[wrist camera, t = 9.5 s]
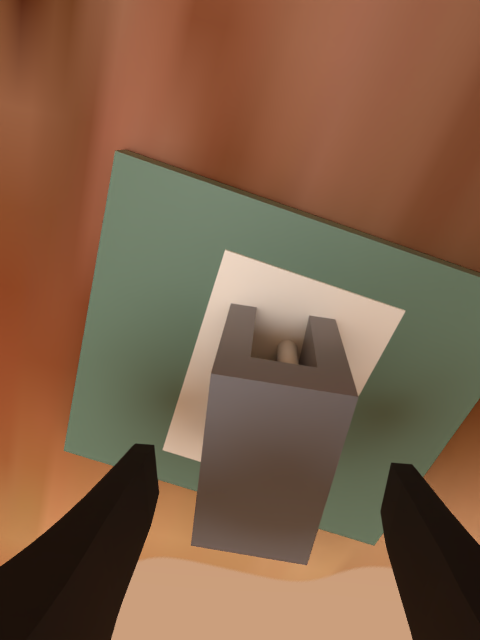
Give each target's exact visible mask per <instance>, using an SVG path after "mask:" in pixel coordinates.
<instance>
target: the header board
mask: <svg viewBox="0 0 480 640" xmlns="http://www.w3.org/2000/svg"><path fill="white" fill-rule="evenodd" d="M231 303H232V304H239V305H245V306H252V307H257V310H256V318H255V326H254V333H253V341H252V349H251V356H250V357H253V358H259V359H266V360H272V361H278V362H285V363H291V364H297V365H299V359H300V354H301V350H302V345H303V341H304V336H305V332H306V327H307V323H308V318H309V315H310V316H317V317H324V318H330V319H335V320H336V323H337V326H338V330H339V333H340V336H341V340H342V343H343V346H344V350H345V353H346V356H347V360H348V363H349V367H350V370H351V373H352V377H353V380H354V383H355V387H356V390H357V393H358V400H357V404H356V407H355V410H354V413H353V417H352V420H351V423H350V426H349V430H348V433H347V436H346V439H345V443H344V446H343V449H342V453H341V456H340V459H339V462H338V466H337V469H336V472H335V475H334V479H333V482H332V485H331V488H330V492H329V495H328V498H327V501H326V505H325V508H324V511H323V514H322V518H321V521H320V524H319V528H318V529H321V530H325V531H328V532H331V533H335V534H338V535H341V536H344V537H348V538H351V539H354V540H357V541H361V542H364V543H367V544H371V545H375V544H376V542H377V541H378V540H379V538H380V537H381V535H382V534H383V533H384V532H383V526H382V519H381V513H380V510H381V506H382V501H383V497H384V492H385V488H386V483H387V479H388V474H389V470H390V465H391V463H404V464H413V466H414V467H415V468H416V469H417V470H418V472H419V473H420V474H421V476H422V477H424V475H425V474H426V472H427V471H428V470H429V468H430V467H431V465H432V464H433V463H434V461H435V460H436V458H437V457H438V456H439V454H440V453H441V451H442V450H443V449H444V447H445V446H446V444H447V443H448V442H449V440H450V439H451V437H452V436H453V435H454V433H455V432H456V430H457V429H458V428H459V426H460V425H461V423H462V422H463V421H464V419H465V418H466V416H467V415H468V414H469V412H470V411H471V409H472V408H473V407H474V405H475V404H476V402H477V401H478V400H479V398H480V273H479V272H476V271H473V270H470V269H467V268H464V267H461V266H459V265H456V264H453V263H450V262H447V261H444V260H441V259H438V258H436V257H433V256H430V255H427V254H424V253H421V252H418V251H416V250H413V249H410V248H407V247H404V246H401V245H398V244H395V243H393V242H390V241H387V240H384V239H381V238H378V237H375V236H372V235H370V234H367V233H364V232H361V231H358V230H355V229H352V228H349V227H347V226H344V225H341V224H338V223H335V222H332V221H329V220H326V219H324V218H321V217H318V216H315V215H312V214H309V213H306V212H303V211H301V210H298V209H295V208H292V207H289V206H286V205H283V204H280V203H278V202H275V201H272V200H269V199H266V198H263V197H260V196H257V195H255V194H252V193H249V192H246V191H243V190H240V189H237V188H234V187H232V186H229V185H226V184H223V183H220V182H217V181H214V180H211V179H209V178H206V177H203V176H200V175H197V174H194V173H191V172H188V171H186V170H183V169H180V168H177V167H174V166H171V165H168V164H165V163H163V162H160V161H157V160H154V159H151V158H148V157H145V156H142V155H140V154H137V153H134V152H131V151H128V150H117V151H115V155H114V161H113V167H112V172H111V178H110V184H109V190H108V196H107V202H106V207H105V213H104V219H103V225H102V231H101V237H100V242H99V248H98V254H97V260H96V266H95V272H94V277H93V283H92V289H91V295H90V301H89V307H88V312H87V318H86V324H85V330H84V336H83V341H82V347H81V353H80V359H79V365H78V371H77V376H76V382H75V388H74V394H73V400H72V406H71V411H70V417H69V423H68V429H67V435H66V441H65V446H64V451H66V452H69V453H73V454H76V455H79V456H83V457H86V458H89V459H92V460H96V461H99V462H102V463H105V464H109V465H112V466H115V464H116V463H117V462H118V461H119V460H120V459H121V458H122V457H123V456H124V455H125V453H126V452H127V451H128V450H129V449H130V448H131V447H132V446H133V445H134V444H135V443H137V444H150V445H154V446H155V456H156V467H157V477H158V480H161V481H164V482H168V483H171V484H174V485H177V486H181V487H184V488H187V489H191V490H194V491H197V489H198V481H199V472H200V463H201V455H202V446H203V437H204V429H205V420H206V411H207V403H208V394H209V385H210V377H211V371H212V368H213V364H214V361H215V357H216V354H217V350H218V347H219V343H220V340H221V336H222V333H223V329H224V326H225V322H226V319H227V315H228V312H229V308H230V305H231Z"/></svg>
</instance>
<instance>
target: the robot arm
mask: <svg viewBox="0 0 480 640" xmlns="http://www.w3.org/2000/svg"><path fill="white" fill-rule="evenodd" d="M158 495H159V487H158V477H157V467H156V456H155V446H154V445H150V444H137V443H135V444H134V445H133V446H132V447H131V448H130V449H129V450H128V451H127V452H126V453H125V455H124V456H123V457H122V458H121V459H120V460H119V461H118V462H117V463H116V464H115V466H114V467H113V468H112V469H111V470H110V471H109V472H108V473H107V474H106V475H105V476H104V477H103V478H102V479H101V480H100V481H99V482H98V483H97V484H96V485H95V486H94V487H93V488H92V490H91V491H90V492H89V493H88V494H87V495H86V496H85V497H84V498H83V499H81V500H80V501H79V502H78V503H77V504H76V505H75V506H74V507H73V508H72V509H71V510H70V511H69V512H68V513H66V514H65V515H64V516H63V517H62V518H61V519H60V520H59V521H58V522H57V523H55V524H54V525H53V526H52V527H51V528H50V529H48V530H47V531H46V532H45V533H44V534H42V535H41V536H40V537H39V538H37V539H36V540H35V541H34V542H33V543H31V544H30V545H29V546H28V547H26V548H25V549H24V550H22V551H21V552H20V553H18V554H17V555H16V556H14V557H13V558H12V559H10V560H9V561H7V562H6V563H5V564H3V565H2V566H0V640H111V637H112V633H113V630H114V626H115V623H116V619H117V616H118V613H119V610H120V607H121V604H122V601H123V599H124V596H125V593H126V590H127V588H128V585H129V583H130V580H131V577H132V575H133V572H134V569H135V567H136V564H137V562H138V559H139V556H140V554H141V551H142V548H143V546H144V543H145V540H146V538H147V535H148V532H149V529H150V527H151V523H152V519H153V515H154V512H155V508H156V503H157V499H158ZM380 513H381V519H382V526H383V532H384V537H385V543H386V548H387V551H388V555H389V559H390V562H391V566H392V569H393V572H394V576H395V580H396V583H397V586H398V590H399V593H400V597H401V600H402V603H403V607H404V610H405V614H406V617H407V621H408V624H409V627H410V631H411V635H412V639H413V640H480V545H479V544H478V543H477V542H476V541H475V539H474V538H473V537H472V536H471V535H470V534H469V533H468V532H467V530H466V529H465V528H464V527H463V526H462V525H461V523H460V522H459V521H458V520H457V519H456V518H455V516H454V515H453V514H452V513H451V512H450V510H449V509H448V508H447V507H446V506H445V504H444V503H443V502H442V501H441V499H440V498H439V497H438V496H437V495H436V493H435V492H434V491H433V489H432V488H431V487H430V486H429V484H428V483H427V482H426V481H425V479H424V478H423V477H422V476H421V474H420V473H419V472H418V470H417V469H416V468H415V467H414V466H413V464H404V463H391V465H390V470H389V474H388V479H387V483H386V488H385V492H384V497H383V501H382V506H381V510H380Z"/></svg>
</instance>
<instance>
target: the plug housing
mask: <svg viewBox="0 0 480 640" xmlns="http://www.w3.org/2000/svg"><path fill="white" fill-rule="evenodd" d="M256 310H257V307H252V306H245V305H239V304H232V303H231V305H230V308H229V312H228V315H227V319H226V322H225V326H224V329H223V333H222V336H221V340H220V343H219V347H218V350H217V354H216V357H215V361H214V364H213V368H212V371H211V377H210V385H209V394H208V403H207V411H206V420H205V429H204V437H203V446H202V455H201V463H200V472H199V481H198V489H197V498H196V507H195V515H194V524H193V533H192V541H191V546H197V547H202V548H208V549H214V550H220V551H226V552H232V553H238V554H244V555H250V556H256V557H262V558H267V559H273V560H279V561H285V562H291V563H297V564H303V565H307V563H308V560H309V557H310V554H311V550H312V547H313V544H314V541H315V537H316V534H317V531H318V528H319V524H320V521H321V518H322V514H323V511H324V508H325V505H326V501H327V498H328V495H329V492H330V488H331V485H332V482H333V479H334V475H335V472H336V469H337V466H338V462H339V459H340V456H341V453H342V449H343V446H344V443H345V439H346V436H347V433H348V430H349V426H350V423H351V420H352V417H353V413H354V410H355V407H356V404H357V400H358V393H357V390H356V387H355V383H354V380H353V377H352V373H351V370H350V367H349V363H348V360H347V356H346V353H345V350H344V346H343V343H342V340H341V336H340V333H339V330H338V326H337V323H336V320H335V319H330V318H324V317H317V316H310V315H309V318H308V323H307V327H306V332H305V336H304V341H303V345H302V350H301V354H300V359H299V365H297V364H291V363H285V362H278V361H272V360H266V359H259V358H253V357H250V356H251V349H252V341H253V333H254V326H255V318H256Z"/></svg>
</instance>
